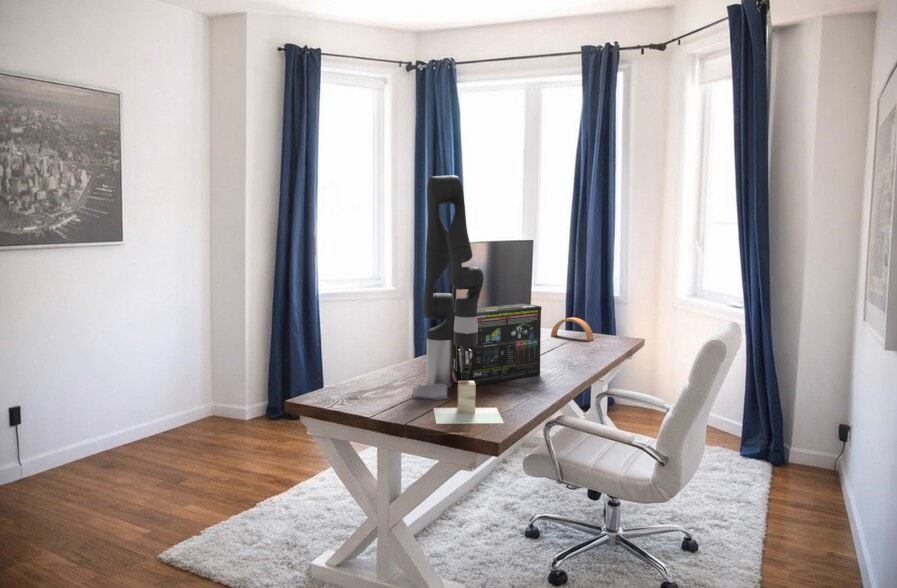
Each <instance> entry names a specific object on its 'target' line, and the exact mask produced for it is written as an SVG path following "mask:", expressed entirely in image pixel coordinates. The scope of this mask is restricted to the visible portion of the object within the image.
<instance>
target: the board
mask: <svg viewBox="0 0 897 588" xmlns="http://www.w3.org/2000/svg"><path fill="white" fill-rule="evenodd" d="M433 413H434V418H435V423H436V425H437V424H439V425H441V424H442V425H446V424H451V425H452V424H459V425H461V424H469V425H470V424H474V425H476V424H505V422H504V420H503V418H502V416H501V414H500V412H499V409H498V408H497V407H475V413H459V412H458V407H433Z"/></svg>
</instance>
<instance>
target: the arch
mask: <svg viewBox="0 0 897 588" xmlns="http://www.w3.org/2000/svg"><path fill="white" fill-rule="evenodd" d="M565 322H573V323H577V324H578V325H579V326H580V327H581V328H582V330H584V332H585V335H586V341H587V342H591V341H593V340H594V334H593V331H592V329H591V326H590V325H589V324H588V323H587V322H586V321H585V320H583V319H581V318H578V317H568V318H564V319H562V320H560V321H558V322H556V324H555V325H554V326H553V328H552V329H551V332H550V337H551V338H553V337H556V336H558V331H559V329H560V327H561V326H562V325H563V324H564V323H565Z"/></svg>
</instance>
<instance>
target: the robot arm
mask: <svg viewBox="0 0 897 588" xmlns="http://www.w3.org/2000/svg"><path fill="white" fill-rule="evenodd" d="M426 202H427V203H426V204H427V207H426V208H427V209H426V210H427V230H426V245H425V279H424V291H423V298H422V313H423V317H424V318H425V319H427V320H443V321H442V323H440V324H439V325H436V326H434V327H431V328H429V329H428V330H427V331H426V376H425V377H426V378H425V379H426V382H425V383H426V385H425V386H429V385H432V384H439V383H441V384H445V385H446V386H447V389H448V387H449V388H451V387H452V386H453V381H452V363H453V317H454V310H455V320H454V344H455V345H457V346H461V350H459V355H460V367H461V381H469V372H470V367H471V361H472V360H471V357H472V351H471V350H470V347H471V346H476V345H477V343H478V320H477V308H478V303H479V301H480V300H479V299H480V295H481V292H482V290H483V286H484V285H483V284H484V281H485V278H484V277H485V276H484V273H483V270H482V269H481V268H480V267H478V266H463V265H462V264H464V263H467V262H469V261H471V260H472V258H473V249H472V246H471V242H470V238H469V234H468V233H469V232H468V227H467V216H466V204H465V196H464V187H463V183H462V181H461V179H460V177H459V176H458V175H454V174H453V175H434V176H430V177H429V179H428V181H427V185H426ZM451 204H452V206H453V210H454V211H453V216H452V220H451V222H450V225H449V227H448V228H447V226H446V225H445V223H444V222H443V220H442V218H441V217H442V216H441V214H440V205H451ZM449 267H450V269H449ZM448 269H449V281H450V284H451V286H452V287H453V289H455V290H459V291H460V290H461V291H463V290H467V292H466V294H464V295H462V296H459V297H457V298H456V299H455V298H454V295H453V294H452V293H451V292H450V293H449V292H435V289H436V287H437V285H438V283H439V281H440V279H441V278H442V276H443V275H444V274H445V273H446V271H447V270H448Z"/></svg>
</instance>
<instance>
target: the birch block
mask: <svg viewBox="0 0 897 588" xmlns="http://www.w3.org/2000/svg"><path fill="white" fill-rule="evenodd" d="M476 388H477V386H476V384H475V382H474V381H458V384H457V408H458V412H459V413H475V408H476V393H477V391H476Z"/></svg>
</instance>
